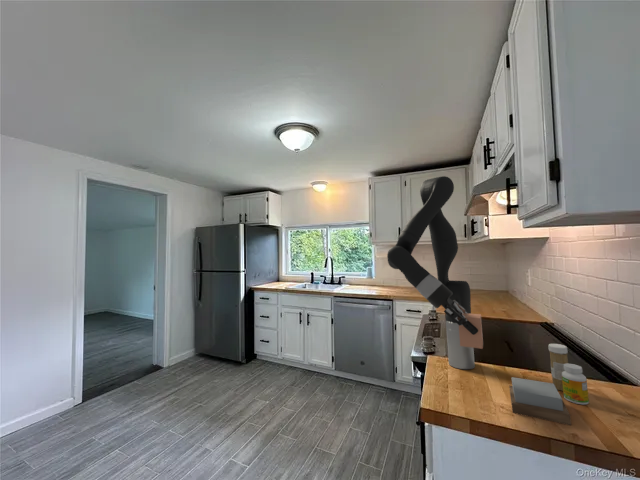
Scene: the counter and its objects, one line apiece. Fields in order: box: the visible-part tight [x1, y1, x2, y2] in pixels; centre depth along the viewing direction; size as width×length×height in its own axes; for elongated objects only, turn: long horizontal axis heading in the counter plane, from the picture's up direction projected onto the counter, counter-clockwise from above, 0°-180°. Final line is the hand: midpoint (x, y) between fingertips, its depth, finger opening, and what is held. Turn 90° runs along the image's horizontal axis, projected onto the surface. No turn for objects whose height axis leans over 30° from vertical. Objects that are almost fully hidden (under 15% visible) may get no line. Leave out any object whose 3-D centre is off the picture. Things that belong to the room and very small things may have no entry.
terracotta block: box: [458, 313, 484, 350], centre depth 85 cm, size 6×6×9 cm
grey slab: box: [511, 377, 563, 411], centre depth 76 cm, size 10×10×3 cm
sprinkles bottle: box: [548, 343, 569, 392], centre depth 86 cm, size 5×5×13 cm
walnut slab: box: [509, 385, 572, 426], centre depth 76 cm, size 12×12×3 cm
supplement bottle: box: [562, 363, 590, 406], centre depth 79 cm, size 5×5×10 cm
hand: (476, 329), depth 84 cm, fingers closed on terracotta block, 6 cm apart
